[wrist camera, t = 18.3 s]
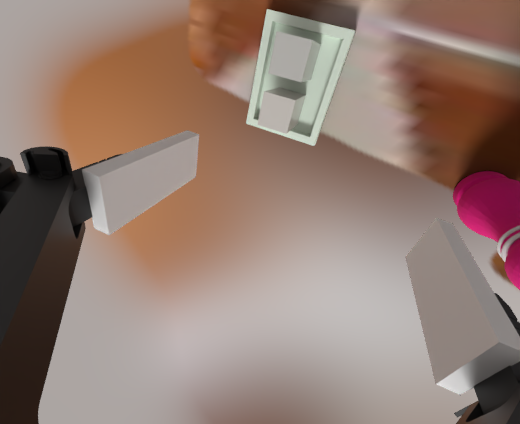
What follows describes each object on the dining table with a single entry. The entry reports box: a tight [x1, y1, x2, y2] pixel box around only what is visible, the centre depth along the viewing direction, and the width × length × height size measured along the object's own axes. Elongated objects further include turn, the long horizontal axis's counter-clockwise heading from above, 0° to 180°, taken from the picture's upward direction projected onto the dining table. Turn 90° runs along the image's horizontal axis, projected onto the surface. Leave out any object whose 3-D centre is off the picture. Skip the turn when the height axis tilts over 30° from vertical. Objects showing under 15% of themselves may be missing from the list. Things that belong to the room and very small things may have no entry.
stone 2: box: [258, 87, 306, 134], centre depth 33 cm, size 4×4×7 cm
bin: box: [246, 9, 355, 146], centre depth 34 cm, size 14×11×2 cm
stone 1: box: [268, 31, 321, 82], centre depth 30 cm, size 4×4×7 cm
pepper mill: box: [453, 171, 520, 290], centre depth 26 cm, size 7×7×20 cm
